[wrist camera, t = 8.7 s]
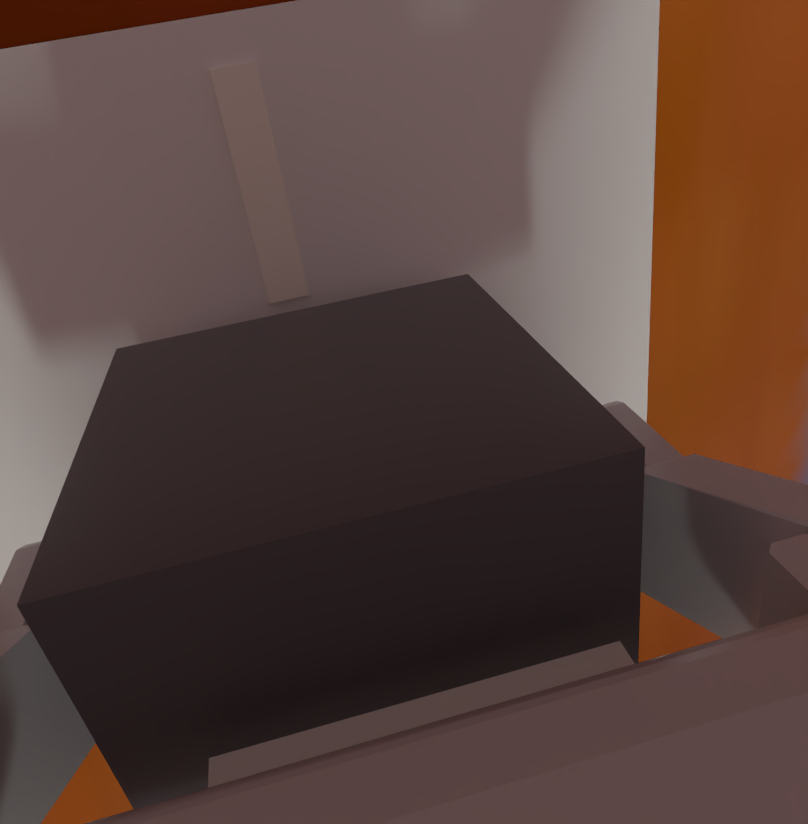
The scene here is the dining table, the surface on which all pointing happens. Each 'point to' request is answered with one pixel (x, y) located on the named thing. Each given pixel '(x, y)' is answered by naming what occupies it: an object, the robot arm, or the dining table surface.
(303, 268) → the shaft base
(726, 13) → the dining table surface
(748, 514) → the robot arm
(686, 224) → the dining table surface
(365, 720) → the dark grey cube block
